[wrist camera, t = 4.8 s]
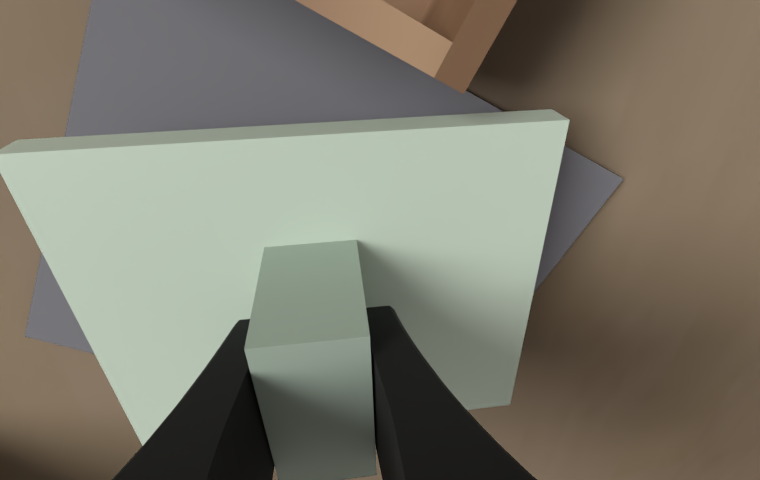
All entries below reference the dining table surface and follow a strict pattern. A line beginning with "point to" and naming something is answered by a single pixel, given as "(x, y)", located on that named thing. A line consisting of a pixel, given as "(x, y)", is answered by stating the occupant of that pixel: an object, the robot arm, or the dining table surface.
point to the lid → (298, 260)
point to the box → (425, 31)
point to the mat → (261, 99)
